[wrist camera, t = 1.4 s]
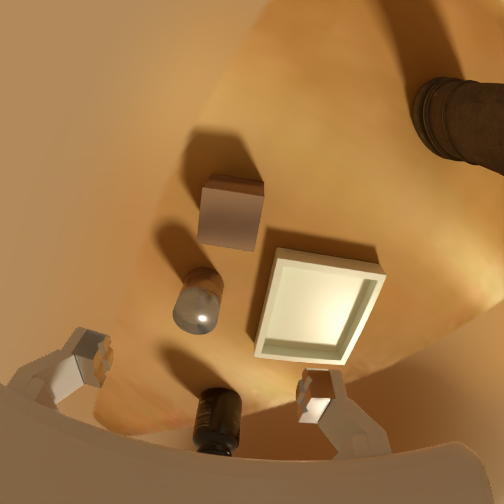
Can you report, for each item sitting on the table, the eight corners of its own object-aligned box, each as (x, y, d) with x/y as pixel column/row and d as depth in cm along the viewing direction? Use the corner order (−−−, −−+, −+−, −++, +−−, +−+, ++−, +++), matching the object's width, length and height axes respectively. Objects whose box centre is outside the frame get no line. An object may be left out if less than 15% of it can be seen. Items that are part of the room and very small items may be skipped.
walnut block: (212, 173, 28) (202, 187, 23) (263, 181, 28) (264, 196, 24) (206, 221, 30) (196, 242, 26) (255, 229, 30) (253, 252, 26)
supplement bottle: (202, 408, 45) (192, 468, 35) (197, 385, 42) (184, 452, 32) (242, 410, 45) (239, 472, 34) (241, 387, 42) (237, 456, 31)
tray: (276, 247, 31) (277, 258, 29) (379, 264, 32) (386, 275, 29) (254, 343, 37) (253, 356, 35) (340, 352, 38) (344, 364, 36)
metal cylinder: (186, 264, 32) (172, 295, 27) (225, 270, 33) (219, 304, 27) (184, 296, 34) (172, 330, 29) (221, 302, 35) (215, 337, 29)
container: (396, 112, 24) (536, 139, 8) (443, 61, 21) (578, 58, 5) (444, 175, 26) (565, 250, 10) (486, 125, 23) (609, 167, 7)
